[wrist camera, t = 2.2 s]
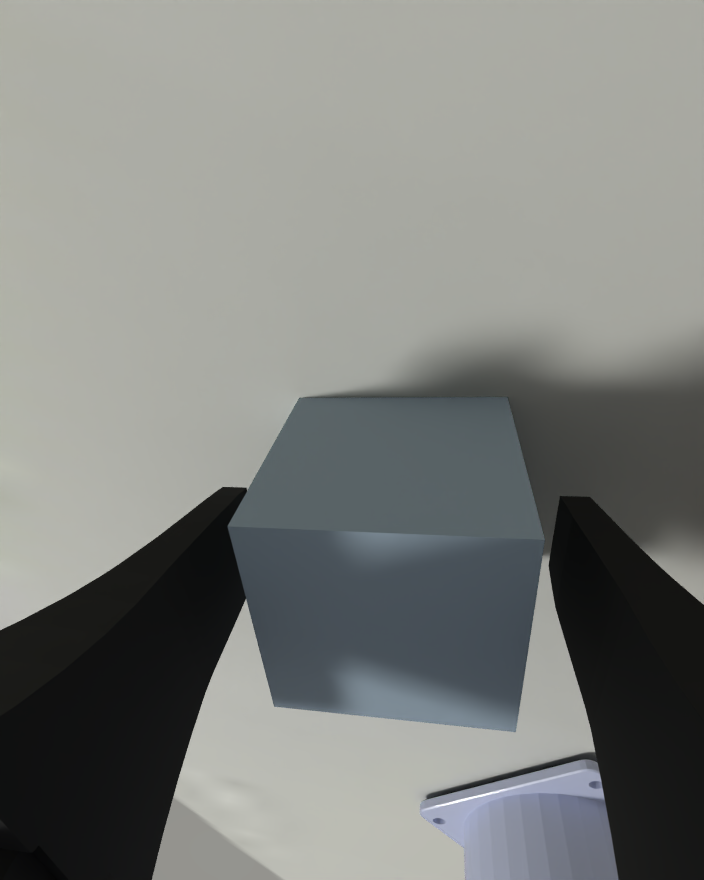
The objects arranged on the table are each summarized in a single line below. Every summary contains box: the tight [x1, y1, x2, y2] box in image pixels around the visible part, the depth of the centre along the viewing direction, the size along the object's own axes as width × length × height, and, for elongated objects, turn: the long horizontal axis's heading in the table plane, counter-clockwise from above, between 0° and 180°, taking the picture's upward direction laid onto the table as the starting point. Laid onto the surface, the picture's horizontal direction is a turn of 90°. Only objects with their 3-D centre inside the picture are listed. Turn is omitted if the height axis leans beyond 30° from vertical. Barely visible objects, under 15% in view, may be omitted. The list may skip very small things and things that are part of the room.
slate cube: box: [228, 397, 545, 732], centre depth 11 cm, size 5×5×5 cm
